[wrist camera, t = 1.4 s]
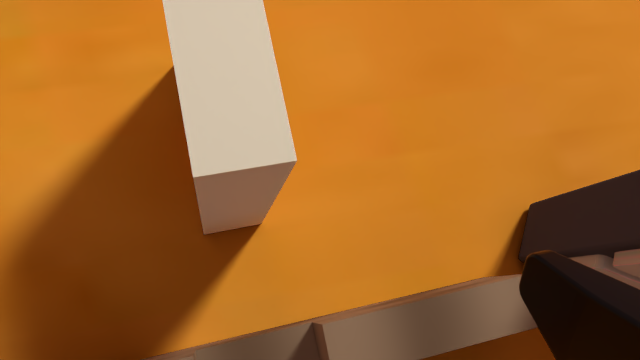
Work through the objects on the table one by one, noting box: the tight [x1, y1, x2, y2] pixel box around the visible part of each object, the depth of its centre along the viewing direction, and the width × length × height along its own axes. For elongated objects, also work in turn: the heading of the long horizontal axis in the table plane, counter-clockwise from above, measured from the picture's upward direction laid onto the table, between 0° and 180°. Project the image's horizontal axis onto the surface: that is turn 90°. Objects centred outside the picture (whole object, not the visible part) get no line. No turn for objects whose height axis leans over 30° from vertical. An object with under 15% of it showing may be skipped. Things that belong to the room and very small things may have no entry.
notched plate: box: [163, 0, 297, 235], centre depth 18 cm, size 8×2×10 cm, turn 13°
